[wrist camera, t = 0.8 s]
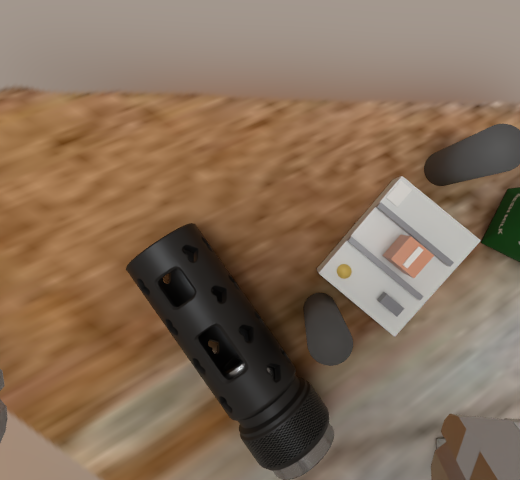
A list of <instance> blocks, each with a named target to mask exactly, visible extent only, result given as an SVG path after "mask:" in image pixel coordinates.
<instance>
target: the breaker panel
mask: <svg viewBox="0 0 520 480" xmlns="http://www.w3.org/2000/svg"><path fill="white" fill-rule="evenodd" d="M400 235H406V236H411V237H413V238H414V239H415V240H416V241H417V242H419V243H420V244H421V245H422V246H423V247H425V248H426V249H427V250H428V251H430V252H431V253H432V254H433V255H434V257H433V258H432V259H431V260H430V261H429V262H428V263H427V264H426V266H425V267H424V268H423V269H422V270H421V271H420V272H419V273H418V275H417V276H416V277H415V278H412V277H410V276H408V275H406V274H404V273H403V272H401V271H400V270H399V269H398V268H397V267H395V266H394V265H393V264H392V263H391V262H389V261H388V260H387V259H386V258H385V257H383V256H382V255H383V254H384V253H385V252H386V251H387V250H388V248H389V247H390V246H391V245H392V244H393V243H394V242H395V240H396V239H397V238H398V237H399V236H400ZM480 241H481V240H479V239H478V238H477V237H476V236H475V235H473V234H472V233H471V232H470V231H469V230H467V229H466V228H465V227H464V226H462V225H461V224H460V223H459V222H458V221H456V220H455V219H454V218H453V217H451V216H450V215H449V214H448V213H447V212H445V211H444V210H443V209H442V208H440V207H439V206H438V205H437V204H436V203H434V202H433V201H432V200H431V199H430V198H428V197H427V196H426V195H425V194H423V193H422V192H421V191H420V190H419V189H417V188H416V187H415V186H414V185H412V184H411V183H410V182H409V181H408V180H406V179H405V178H404V177H403V176H400V177H398V178H395V179H393V180H392V181H391V182H390V184H389V185H388V186H387V187H386V188H385V189H384V191H383V192H382V193H381V194H380V195H379V196H378V198H377V199H376V200H375V201H374V202H373V204H372V205H371V206H370V207H369V208H368V209H367V211H366V212H365V213H364V214H363V215H362V216H361V218H360V219H359V220H358V221H357V222H356V223H355V225H354V226H353V227H352V228H351V229H350V230H349V232H348V233H347V234H346V235H345V236H344V237H343V239H342V240H341V241H340V242H339V243H338V244H337V246H336V247H335V248H334V249H333V250H332V251H331V253H330V254H329V255H328V256H327V257H326V258H325V260H324V261H323V262H322V263H321V264H320V265H319V267H318V268H317V271H318V273H319V274H320V275H321V276H322V277H324V278H325V279H326V280H327V281H328V282H330V283H331V284H332V285H333V286H334V287H336V288H337V289H338V290H339V291H340V292H342V293H343V294H344V295H345V296H346V297H348V298H349V299H350V300H351V301H352V302H354V303H355V304H356V305H357V306H358V307H360V308H361V309H362V310H363V311H364V312H365V313H367V314H368V315H369V316H370V317H371V318H373V319H374V320H375V321H376V322H377V323H379V324H380V325H381V326H382V327H383V328H385V329H386V330H387V331H388V332H389V333H391V334H392V335H393V336H394V337H395V336H396V335H397V334H398V333H399V331H400V330H401V329H402V328H403V327H404V326H405V325H406V324H407V323H408V321H409V320H410V319H411V318H412V317H413V316H414V315H415V314H416V312H417V311H418V310H419V309H420V308H421V307H422V306H423V305H424V304H425V302H426V301H427V300H428V299H429V298H430V297H431V296H432V295H433V293H434V292H435V291H436V290H437V289H438V288H439V287H440V286H441V285H442V283H443V282H444V281H445V280H446V279H447V278H448V277H449V276H450V275H451V273H452V272H453V271H454V270H455V269H456V268H457V267H458V266H459V264H460V263H461V262H462V261H463V260H464V259H465V258H466V257H467V256H468V254H469V253H470V252H471V251H472V250H473V249H474V248H475V247H476V245H477V244H478V243H479V242H480Z"/></svg>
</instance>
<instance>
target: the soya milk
mask: <svg viewBox="0 0 520 480" xmlns="http://www.w3.org/2000/svg"><path fill="white" fill-rule="evenodd" d="M481 243H482V244H485V245H487V246H489V247H491V248H493V249H495V250H497V251H499V252H501V253H503V254H505V255H506V256H508V257H511V258H513V259H515V260H517V261H519V262H520V188H512V189H508V190H507V192H506V194H505V196H504V198H503V200H502V202H501V204H500V206H499V208H498V210H497V212H496V214H495V216H494V218H493V220H492V222H491V224H490V226H489V228H488V230H487V232H486V234H485V236H484V238H483V240H482V242H481Z"/></svg>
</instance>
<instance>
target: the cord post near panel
mask: <svg viewBox="0 0 520 480" xmlns="http://www.w3.org/2000/svg"><path fill="white" fill-rule="evenodd" d="M304 319H305V327H306V336H307V345H308V350H309V352H310V354H311V356H312V357H313V358H314V359H315V360H316V361H317V362H319V363H321V364H323V365H328V366H333V365H338V364H340V363H342V362H344V361H345V360H346V359H347V358H348V357H349V356H350V354H351V352H352V348H353V339H352V336H351V333H350V331H349V329H348V327H347V325H346V323H345V321H344V319H343V317H342V315H341V313H340V311H339V309H338V307H337V305H336V303H335V302H334V300H333V299H332V298H331V297H330V296H329V295H327V294H324V293H315V294H313V295H311V296H310V297H308V298H307V300H306V301H305V303H304Z"/></svg>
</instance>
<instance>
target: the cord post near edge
mask: <svg viewBox="0 0 520 480" xmlns="http://www.w3.org/2000/svg"><path fill="white" fill-rule="evenodd" d="M519 164H520V130H519V129H517V128H516V127H514V126H512V125H508V124H497V125H494V126H491V127H489V128H487V129H485V130H483V131H481V132H479V133H477V134H474V135H472V136H470V137H468V138H466V139H464V140H462V141H459V142H457V143H455V144H453V145H451V146H449V147H447V148H445V149H442V150H440V151H438V152H436V153H434V154H432V155H431V156H430V157H429V158H428V159H427V161H426V163H425V166H424V172H425V175H426V177H427V179H428V180H429V181H430V182H431V183H433V184H435V185H439V186H444V185H449V184H453V183H458V182H462V181H466V180H471V179H475V178H480V177H484V176H489V175H493V174H498V173H502V172H506V171H510V170H512V169H514V168H516V167H517V166H518V165H519Z"/></svg>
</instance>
